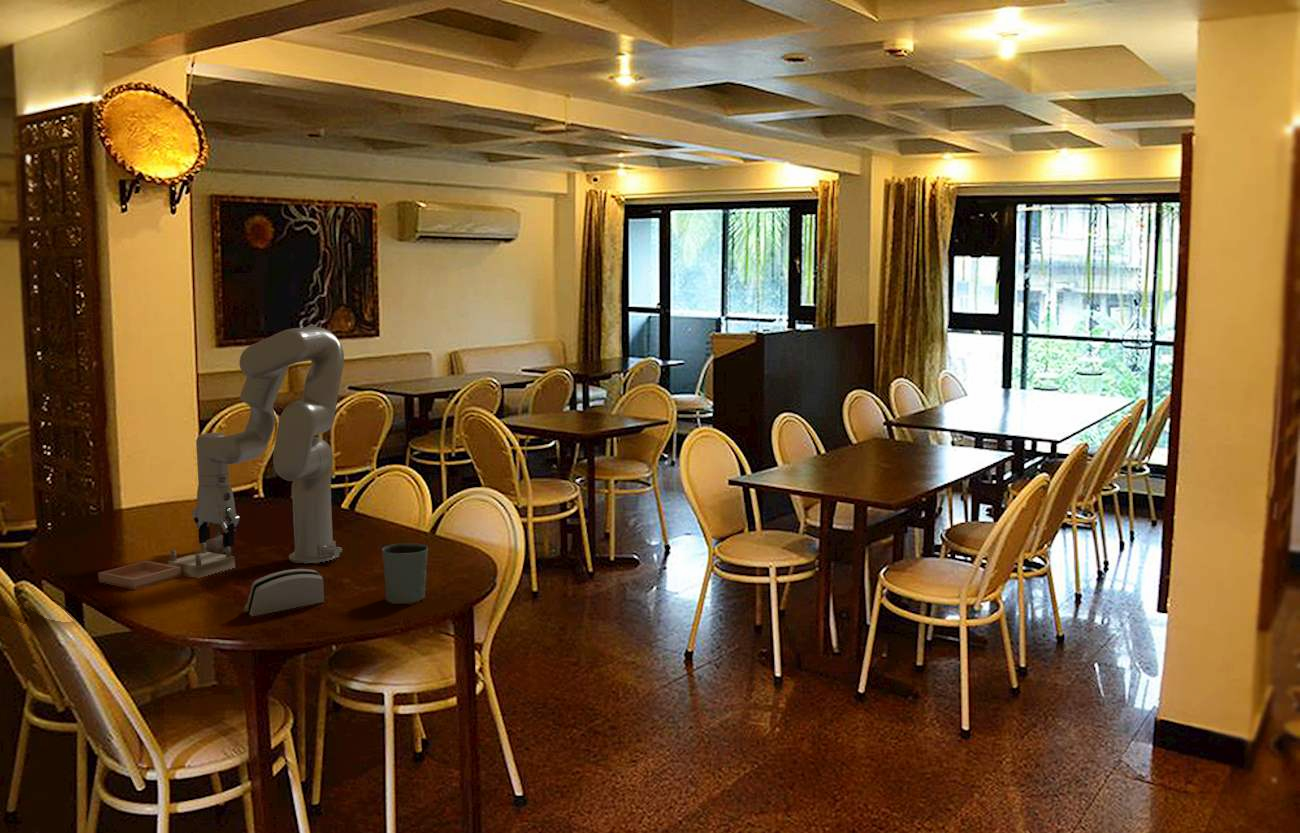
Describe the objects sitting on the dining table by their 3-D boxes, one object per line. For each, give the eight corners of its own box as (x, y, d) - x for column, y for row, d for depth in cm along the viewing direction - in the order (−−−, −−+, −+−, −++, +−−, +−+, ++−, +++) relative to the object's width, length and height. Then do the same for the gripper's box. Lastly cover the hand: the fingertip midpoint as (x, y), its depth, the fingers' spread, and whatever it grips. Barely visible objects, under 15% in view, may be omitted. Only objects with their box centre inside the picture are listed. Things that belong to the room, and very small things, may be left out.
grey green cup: (375, 599, 253) (373, 547, 251) (413, 590, 260) (412, 540, 258) (399, 608, 246) (397, 555, 244) (438, 599, 253) (436, 547, 251)
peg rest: (235, 568, 280) (234, 546, 280) (198, 578, 271) (197, 556, 270) (205, 562, 286) (204, 541, 285) (168, 572, 276) (167, 551, 275)
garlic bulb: (222, 557, 291) (220, 527, 290) (196, 556, 293) (195, 526, 292) (238, 550, 299) (236, 521, 297) (213, 549, 300) (211, 520, 299)
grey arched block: (316, 597, 254) (320, 560, 250) (324, 609, 251) (328, 571, 247) (242, 612, 244) (246, 573, 240) (250, 624, 241) (253, 585, 237)
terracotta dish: (181, 577, 272) (180, 567, 272) (134, 590, 261) (133, 579, 261) (146, 570, 278) (145, 560, 278) (98, 583, 267) (98, 572, 267)
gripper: (248, 481, 292) (251, 545, 294) (202, 475, 300) (206, 537, 303) (224, 485, 286) (228, 551, 288) (179, 479, 294) (182, 543, 296)
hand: (216, 544), depth 295 cm, fingers open, 8 cm apart
